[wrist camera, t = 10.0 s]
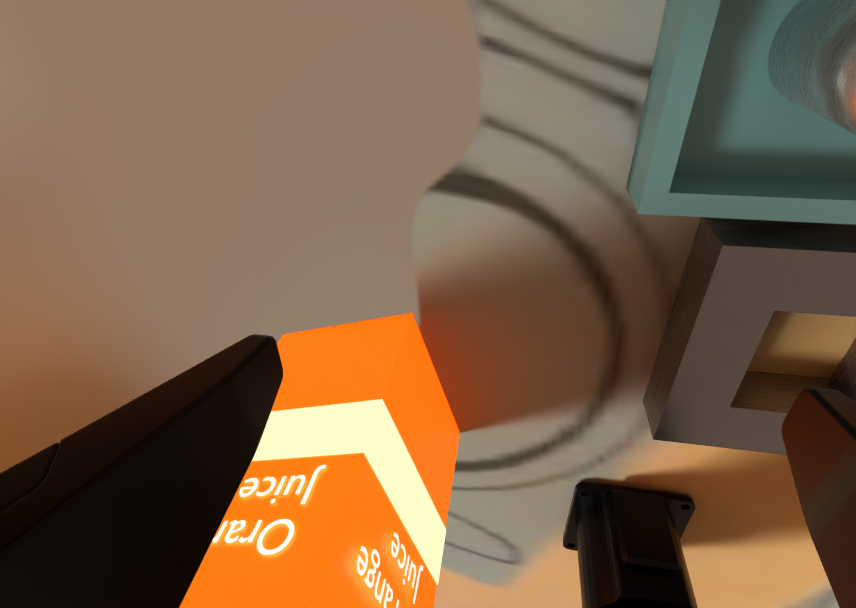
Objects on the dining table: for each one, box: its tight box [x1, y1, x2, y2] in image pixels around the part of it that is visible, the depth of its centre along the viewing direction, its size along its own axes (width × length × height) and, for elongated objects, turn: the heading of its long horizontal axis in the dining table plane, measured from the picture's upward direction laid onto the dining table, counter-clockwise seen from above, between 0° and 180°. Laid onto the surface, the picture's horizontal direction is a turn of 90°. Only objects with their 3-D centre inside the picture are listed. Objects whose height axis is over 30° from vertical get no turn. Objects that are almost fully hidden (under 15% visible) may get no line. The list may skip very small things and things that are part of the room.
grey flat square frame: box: [643, 217, 856, 455], centre depth 20 cm, size 10×10×2 cm
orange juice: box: [179, 313, 460, 608], centre depth 19 cm, size 8×9×20 cm
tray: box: [626, 0, 856, 225], centre depth 14 cm, size 10×10×2 cm
